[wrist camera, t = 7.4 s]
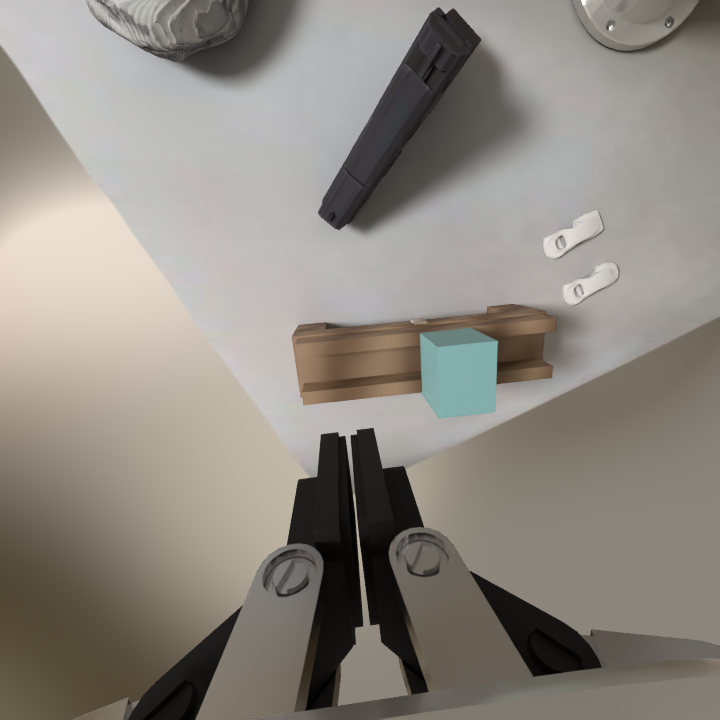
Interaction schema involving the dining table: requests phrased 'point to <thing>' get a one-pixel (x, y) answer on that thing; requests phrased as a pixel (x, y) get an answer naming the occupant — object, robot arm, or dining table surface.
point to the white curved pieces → (581, 231)
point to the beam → (410, 353)
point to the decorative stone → (172, 23)
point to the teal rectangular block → (459, 372)
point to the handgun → (400, 112)
